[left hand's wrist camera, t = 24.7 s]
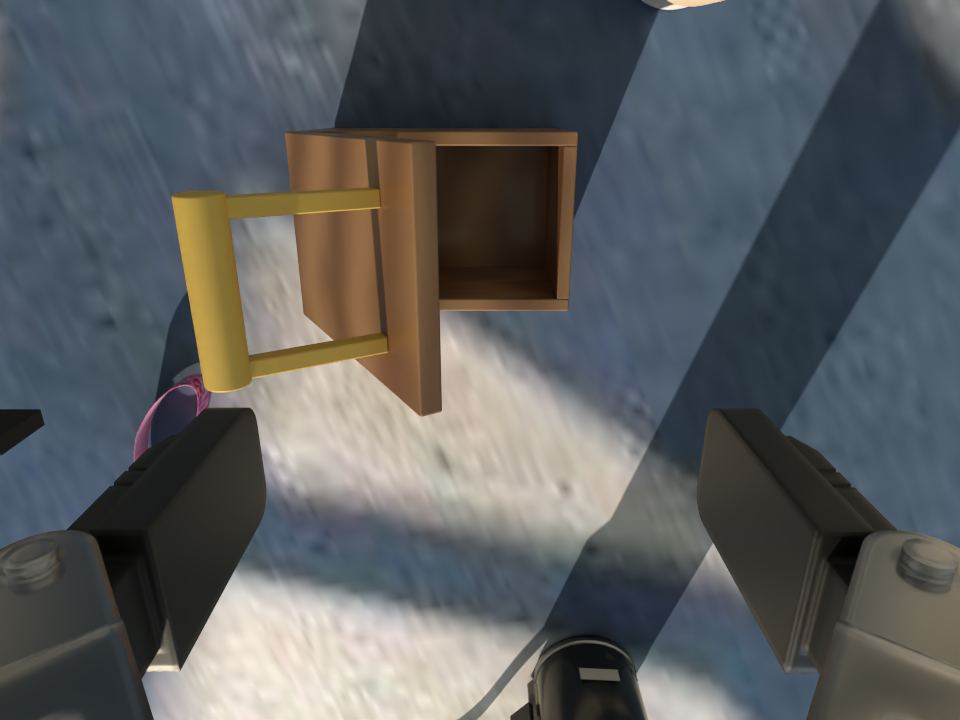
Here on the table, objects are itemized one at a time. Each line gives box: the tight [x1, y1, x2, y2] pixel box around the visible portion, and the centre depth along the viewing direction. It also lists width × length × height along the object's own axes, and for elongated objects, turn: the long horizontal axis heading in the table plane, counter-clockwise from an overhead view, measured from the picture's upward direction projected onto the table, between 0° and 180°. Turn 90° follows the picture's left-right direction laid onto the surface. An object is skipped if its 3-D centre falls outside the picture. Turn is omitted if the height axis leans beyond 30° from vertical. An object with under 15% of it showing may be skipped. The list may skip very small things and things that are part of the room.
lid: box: [172, 131, 442, 416], centre depth 27 cm, size 15×10×8 cm
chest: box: [303, 128, 578, 311], centre depth 39 cm, size 15×10×9 cm, turn 90°
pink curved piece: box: [134, 374, 210, 462], centre depth 48 cm, size 11×4×2 cm, turn 156°
